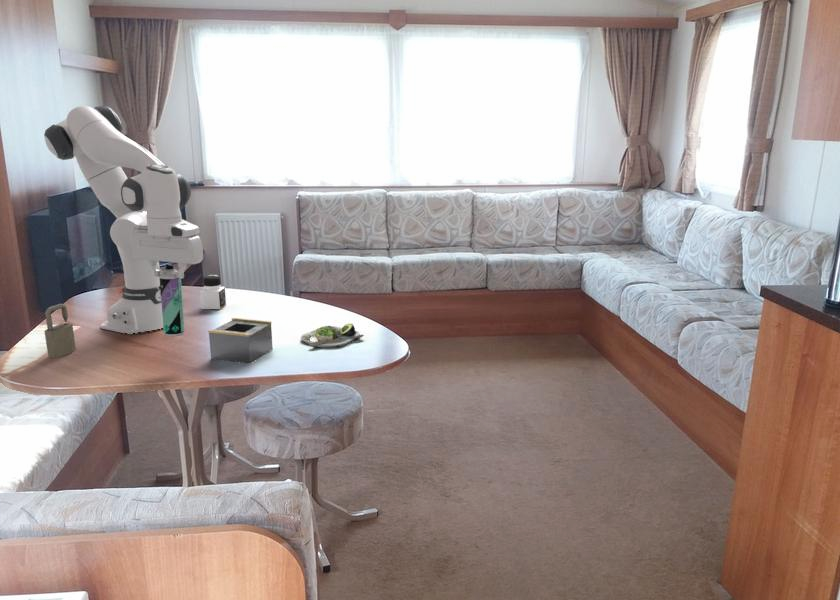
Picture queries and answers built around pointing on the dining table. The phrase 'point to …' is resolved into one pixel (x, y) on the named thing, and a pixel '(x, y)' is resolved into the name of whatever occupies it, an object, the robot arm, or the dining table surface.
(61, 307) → the padlock
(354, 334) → the salad plate
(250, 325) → the socket block
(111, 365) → the dining table surface
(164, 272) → the spray can
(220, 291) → the medicine bottle
